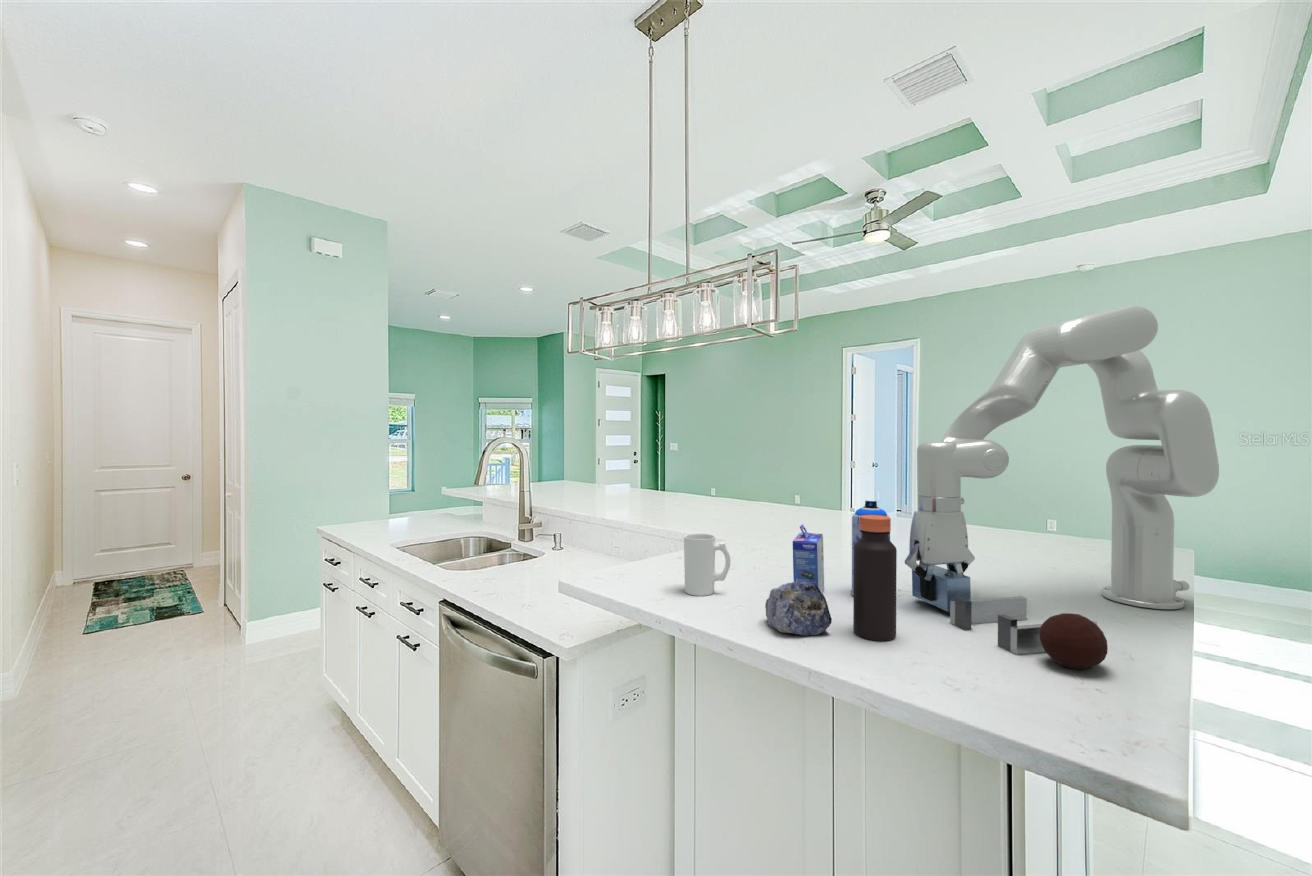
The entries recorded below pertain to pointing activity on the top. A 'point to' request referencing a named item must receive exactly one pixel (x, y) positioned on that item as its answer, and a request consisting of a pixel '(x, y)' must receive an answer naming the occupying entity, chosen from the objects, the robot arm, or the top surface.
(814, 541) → the ink cartridge box
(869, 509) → the aerosol can
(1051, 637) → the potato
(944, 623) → the top surface
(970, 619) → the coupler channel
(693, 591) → the mug
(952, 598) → the lock block
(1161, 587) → the robot arm
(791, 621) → the rock
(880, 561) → the bottle
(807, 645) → the top surface
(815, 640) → the top surface
